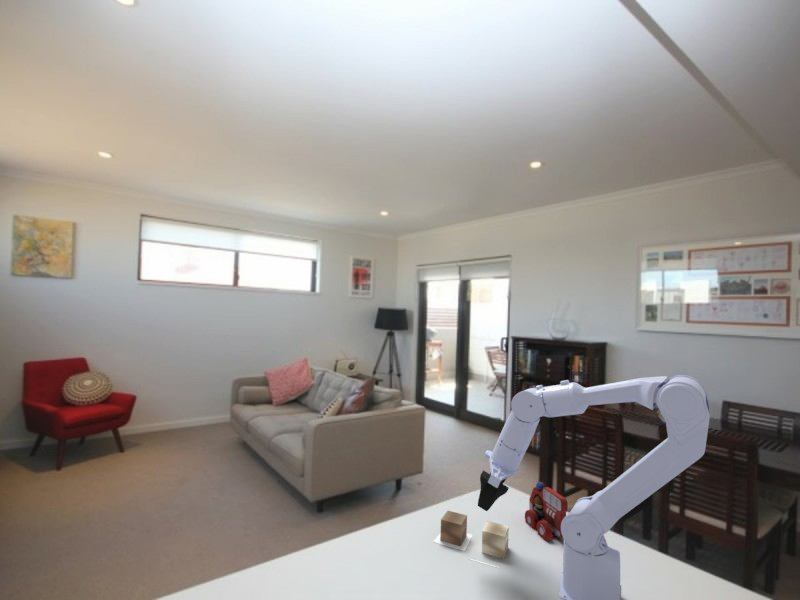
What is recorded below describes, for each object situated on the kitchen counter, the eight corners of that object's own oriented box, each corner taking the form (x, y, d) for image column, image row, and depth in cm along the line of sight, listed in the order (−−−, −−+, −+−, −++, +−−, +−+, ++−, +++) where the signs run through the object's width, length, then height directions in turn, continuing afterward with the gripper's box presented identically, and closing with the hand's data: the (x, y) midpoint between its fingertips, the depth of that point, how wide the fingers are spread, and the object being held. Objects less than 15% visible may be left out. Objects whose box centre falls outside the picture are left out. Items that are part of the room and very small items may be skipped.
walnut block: (466, 535, 91) (467, 515, 91) (460, 546, 87) (461, 524, 87) (446, 530, 93) (447, 510, 93) (440, 540, 89) (440, 519, 89)
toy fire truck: (544, 517, 102) (545, 474, 102) (578, 545, 90) (579, 497, 90) (519, 519, 100) (520, 476, 101) (550, 549, 88) (551, 500, 89)
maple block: (508, 547, 87) (508, 526, 88) (503, 559, 83) (504, 536, 83) (486, 541, 89) (487, 520, 89) (481, 552, 85) (482, 530, 85)
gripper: (501, 421, 92) (478, 472, 95) (485, 446, 79) (459, 504, 82) (532, 438, 89) (507, 490, 92) (520, 466, 76) (492, 526, 79)
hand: (487, 498), depth 87 cm, fingers open, 7 cm apart
